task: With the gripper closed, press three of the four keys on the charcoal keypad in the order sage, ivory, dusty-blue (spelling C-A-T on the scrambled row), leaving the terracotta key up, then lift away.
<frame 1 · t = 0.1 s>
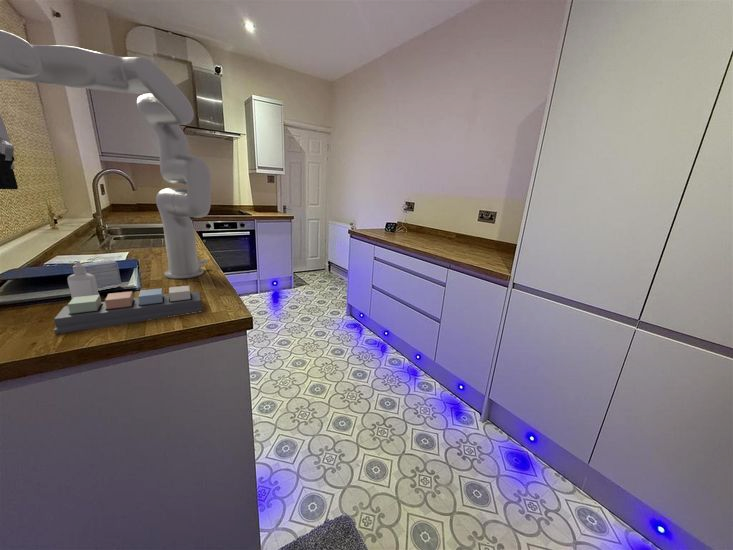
medicine box: (104, 289, 91), on the counter
key T: (151, 296, 77), point 4 cm above the counter, slide at 0.0 cm
key C: (85, 303, 70), point 4 cm above the counter, slide at 0.0 cm
keypad housing: (138, 313, 77), on the counter
key A: (179, 293, 81), point 4 cm above the counter, slide at 0.0 cm
eye dropper bottle: (87, 302, 81), on the counter
key O: (119, 299, 74), point 4 cm above the counter, slide at 0.0 cm
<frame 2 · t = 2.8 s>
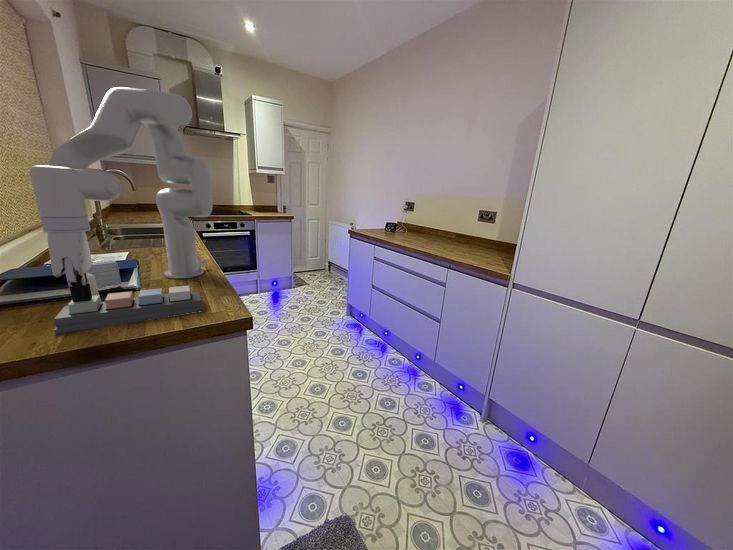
hand: (82, 300, 70), 6 cm above the counter, tool pointing down, fingers closed
key C: (85, 304, 70), point 4 cm above the counter, slide at -0.1 cm, touching gripper
everything else where it was.
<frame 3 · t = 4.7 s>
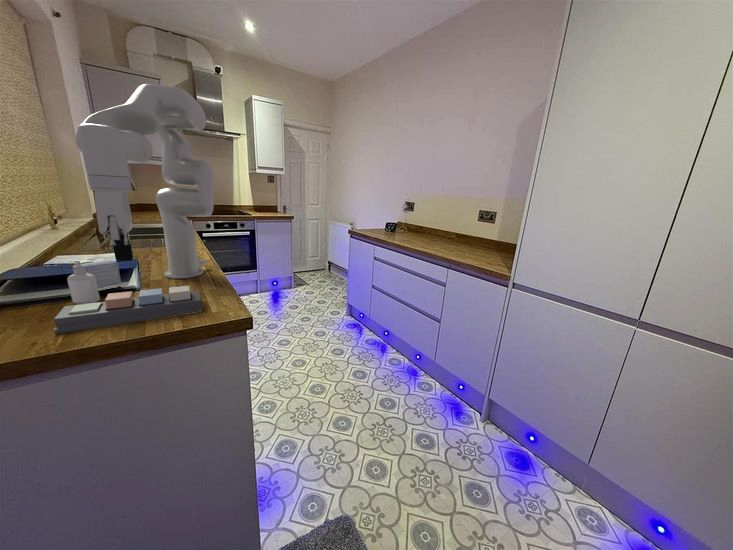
hand: (124, 260, 72), 15 cm above the counter, tool pointing down, fingers closed
key C: (87, 311, 71), point 2 cm above the counter, slide at -2.0 cm
everything else where it was.
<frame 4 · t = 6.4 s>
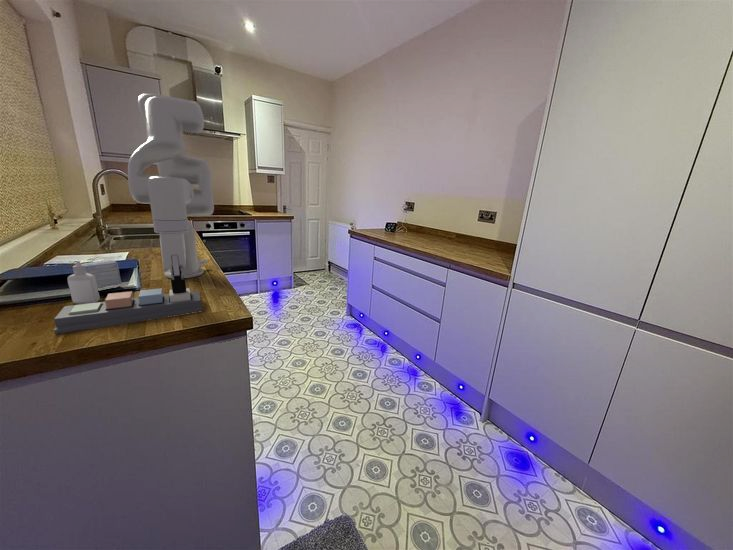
hand: (179, 292, 80), 5 cm above the counter, tool pointing down, fingers closed
key A: (180, 295, 81), point 4 cm above the counter, slide at -0.8 cm, touching gripper
everything else where it was.
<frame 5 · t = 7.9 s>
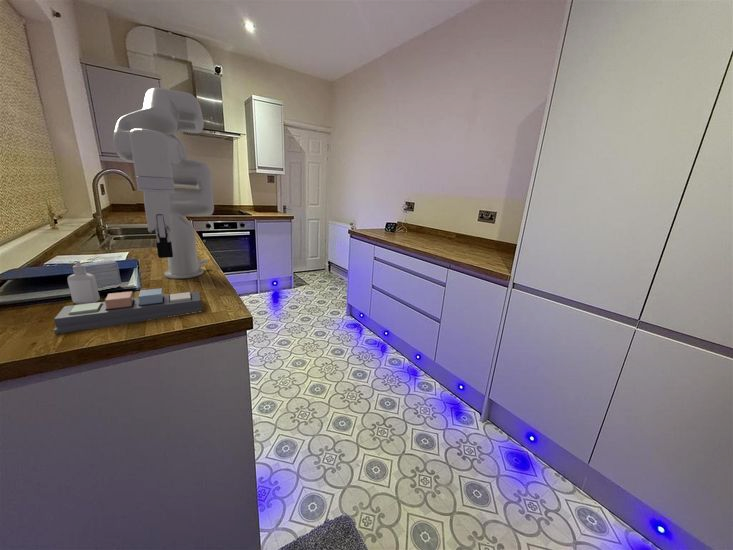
hand: (165, 256, 76), 15 cm above the counter, tool pointing down, fingers closed
key A: (180, 299, 81), point 2 cm above the counter, slide at -2.0 cm
everything else where it was.
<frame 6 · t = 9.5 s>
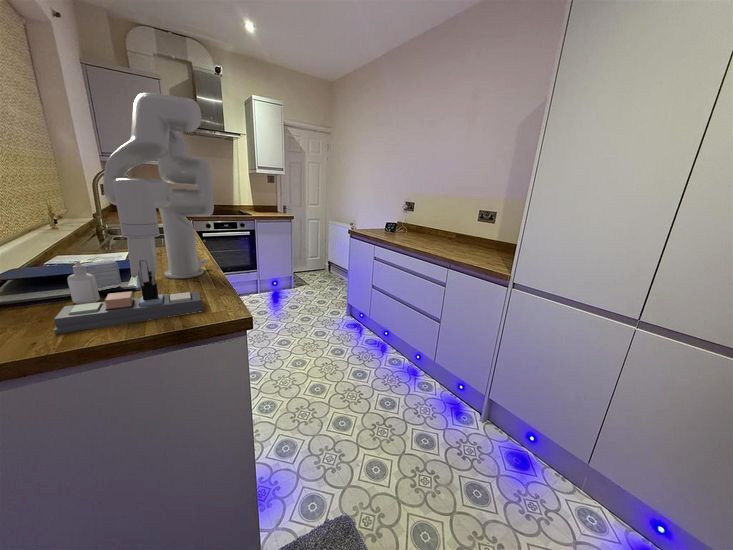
hand: (151, 298, 77), 4 cm above the counter, tool pointing down, fingers closed
key T: (152, 302, 78), point 3 cm above the counter, slide at -1.7 cm, touching gripper
everything else where it was.
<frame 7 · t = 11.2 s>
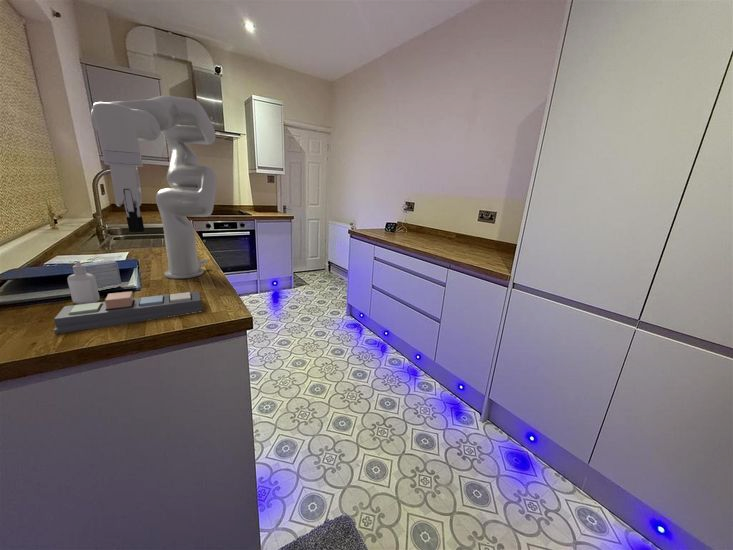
hand: (137, 231, 79), 21 cm above the counter, tool pointing down, fingers closed
key T: (152, 303, 78), point 2 cm above the counter, slide at -2.0 cm
everything else where it was.
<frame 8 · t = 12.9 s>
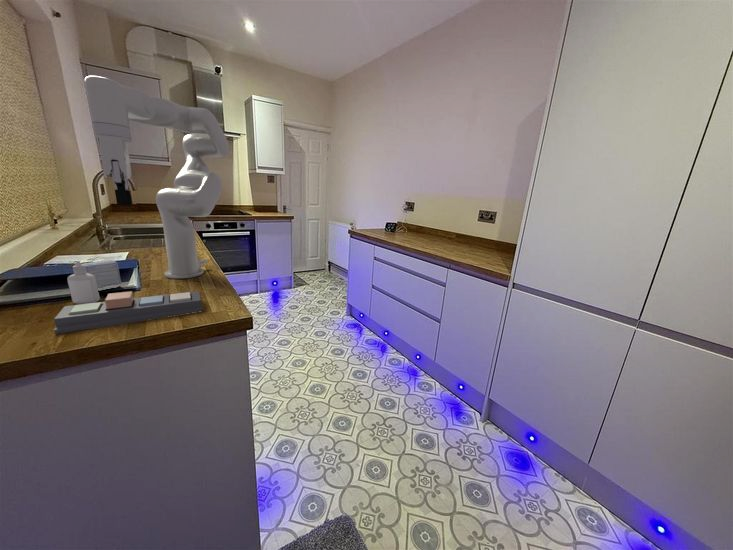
hand: (125, 204, 80), 27 cm above the counter, tool pointing down, fingers closed
nothing on the counter moved.
at the end: key C slide at -2.0 cm; key A slide at -2.0 cm; key T slide at -2.0 cm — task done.
